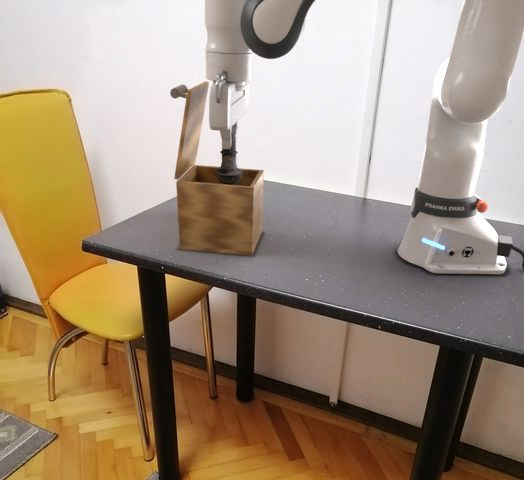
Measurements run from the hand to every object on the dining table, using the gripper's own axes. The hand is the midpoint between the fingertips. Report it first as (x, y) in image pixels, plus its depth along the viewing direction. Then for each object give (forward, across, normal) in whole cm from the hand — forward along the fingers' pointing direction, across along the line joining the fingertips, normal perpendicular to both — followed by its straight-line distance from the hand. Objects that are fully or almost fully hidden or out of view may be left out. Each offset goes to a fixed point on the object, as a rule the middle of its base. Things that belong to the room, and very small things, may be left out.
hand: (229, 146), depth 108 cm
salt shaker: (+9, 0, 0) cm, 9 cm away
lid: (-2, 0, +7) cm, 8 cm away
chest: (+20, 0, +2) cm, 21 cm away
